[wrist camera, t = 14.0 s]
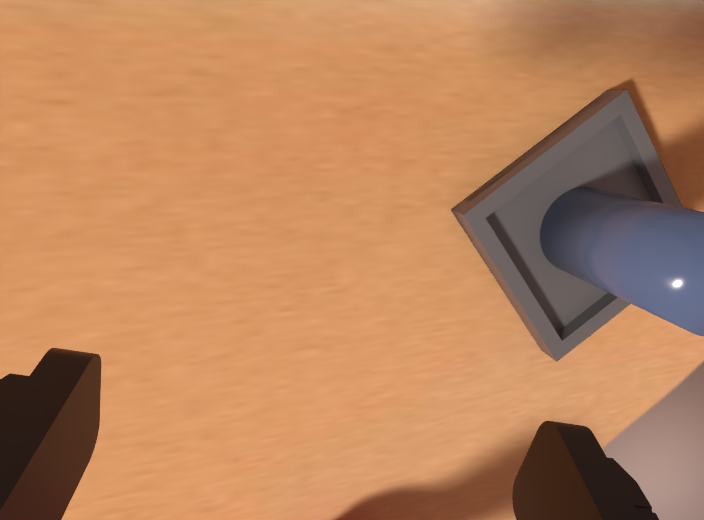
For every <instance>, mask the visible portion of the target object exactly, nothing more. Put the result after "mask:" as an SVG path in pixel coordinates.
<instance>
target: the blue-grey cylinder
mask: <svg viewBox="0 0 704 520" xmlns="http://www.w3.org/2000/svg"><path fill="white" fill-rule="evenodd" d="M540 244H541V248H542V251H543V253H544V255H545V257H546V258H547V260H548V261H549V262H550V263H551V264H552V265H553V266H555V267H556V268H558V269H560V270H562V271H564V272H566V273H568V274H570V275H573V276H575V277H577V278H579V279H581V280H583V281H585V282H587V283H589V284H591V285H593V286H596V287H598V288H600V289H602V290H604V291H606V292H608V293H610V294H612V295H614V296H616V297H618V298H621V299H623V300H625V301H627V302H629V303H631V304H633V305H635V306H637V307H639V308H641V309H644V310H646V311H648V312H650V313H652V314H654V315H656V316H658V317H660V318H662V319H664V320H667V321H669V322H671V323H673V324H675V325H677V326H679V327H681V328H683V329H685V330H687V331H690V332H692V333H694V334H696V335H699V336H704V212H699V211H695V210H690V209H686V208H681V207H677V206H672V205H668V204H663V203H658V202H654V201H649V200H645V199H640V198H636V197H631V196H627V195H622V194H617V193H613V192H608V191H604V190H599V189H595V188H590V187H579V188H575V189H572V190H569V191H567V192H565V193H564V194H562V195H561V196H559V197H558V198H557V199H556V200H555V201H554V202H553V203H552V204H551V205H550V207H549V208H548V210H547V212H546V213H545V215H544V218H543V220H542V224H541V228H540Z"/></svg>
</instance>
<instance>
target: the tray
mask: <svg viewBox="0 0 704 520" xmlns="http://www.w3.org/2000/svg"><path fill="white" fill-rule="evenodd" d="M579 187H590V188H595V189H599V190H604V191H608V192H613V193H617V194H622V195H627V196H631V197H636V198H640V199H645V200H649V201H654V202H658V203H663V204H668V205H672V206H677V207H681V208H683V207H682V205H681V203H680V201H679V199H678V196H677V194H676V192H675V190H674V188H673V186H672V184H671V182H670V179H669V177H668V175H667V173H666V171H665V169H664V167H663V165H662V163H661V160H660V158H659V156H658V154H657V152H656V150H655V148H654V146H653V144H652V141H651V139H650V137H649V135H648V133H647V131H646V129H645V127H644V124H643V122H642V120H641V118H640V116H639V114H638V112H637V110H636V108H635V105H634V103H633V101H632V99H631V97H630V95H629V93H628V91H627V90H607V91H605V92H604V93H603V94H602V95H600V96H599V97H598V98H596V99H595V100H594V101H592V102H591V103H590V104H588V105H587V106H586V107H585V108H583V109H582V110H581V111H579V112H578V113H577V114H575V115H574V116H573V117H572V118H570V119H569V120H568V121H566V122H565V123H564V124H562V125H561V126H560V127H558V128H557V129H556V130H555V131H553V132H552V133H551V134H549V135H548V136H547V137H545V138H544V139H543V140H541V141H540V142H539V143H538V144H536V145H535V146H534V147H532V148H531V149H530V150H528V151H527V152H526V153H525V154H523V155H522V156H521V157H519V158H518V159H517V160H515V161H514V162H513V163H511V164H510V165H509V166H508V167H506V168H505V169H504V170H502V171H501V172H500V173H498V174H497V175H496V176H494V177H493V178H492V179H491V180H489V181H488V182H487V183H485V184H484V185H483V186H481V187H480V188H479V189H478V190H476V191H475V192H474V193H472V194H471V195H470V196H468V197H467V198H466V199H464V200H463V201H462V202H461V203H459V204H458V205H457V206H455V207H454V208H453V209H451V211H452V212H453V214H454V215H455V217H456V218H457V220H458V222H459V223H460V225H461V226H462V228H463V229H464V231H465V232H466V234H467V235H468V237H469V239H470V240H471V242H472V243H473V245H474V246H475V248H476V249H477V251H478V253H479V254H480V256H481V257H482V259H483V260H484V262H485V263H486V265H487V267H488V268H489V270H490V271H491V273H492V274H493V276H494V277H495V279H496V281H497V282H498V284H499V285H500V287H501V288H502V290H503V291H504V293H505V294H506V296H507V298H508V299H509V301H510V302H511V304H512V305H513V307H514V308H515V310H516V312H517V313H518V315H519V316H520V318H521V319H522V321H523V322H524V324H525V326H526V327H527V329H528V330H529V332H530V333H531V335H532V336H533V338H534V339H535V341H536V343H537V344H538V346H539V347H540V349H541V350H542V351H543V352H544V353H546V354H547V355H548V356H550V357H551V358H552V359H554V360H555V361H556V362H557V361H558V360H560V359H561V358H562V357H563V356H565V355H566V354H567V353H569V352H570V351H571V350H572V349H574V348H575V347H576V346H577V345H579V344H580V343H581V342H583V341H584V340H585V339H586V338H588V337H589V336H590V335H592V334H593V333H594V332H595V331H597V330H598V329H599V328H600V327H602V326H603V325H604V324H606V323H607V322H608V321H609V320H611V319H612V318H613V317H614V316H616V315H617V314H618V313H620V312H621V311H622V310H623V309H625V308H626V307H627V306H629V305H630V304H631V303H629V302H627V301H625V300H623V299H621V298H618V297H616V296H614V295H612V294H610V293H608V292H606V291H604V290H602V289H600V288H598V287H596V286H593V285H591V284H589V283H587V282H585V281H583V280H581V279H579V278H577V277H575V276H573V275H570V274H568V273H566V272H564V271H562V270H560V269H558V268H556V267H555V266H553V265H552V264H551V263H550V262H549V261H548V260H547V258H546V257H545V255H544V253H543V251H542V248H541V244H540V228H541V224H542V220H543V218H544V215H545V213H546V212H547V210H548V208H549V207H550V205H551V204H552V203H553V202H554V201H555V200H556V199H557V198H558V197H559V196H561V195H562V194H564V193H565V192H567V191H569V190H572V189H575V188H579Z"/></svg>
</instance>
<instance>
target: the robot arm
mask: <svg viewBox="0 0 704 520" xmlns="http://www.w3.org/2000/svg"><path fill="white" fill-rule="evenodd" d="M100 388H101V358H100V356H99V355H98V354H93V353H86V352H79V351H72V350H65V349H58V348H51V349H50V350H49V351H48V352H47V353H46V354H45V355H44V357H43V358H42V360H41V361H40V362H39V364H38V365H37V366H36V368H35V369H34V371H33V372H32V373H31V375H30V376H24V375H17V374H8V375H7V376H5V377H4V378H2V379H0V520H61V519H62V517H63V515H64V513H65V511H66V508H67V506H68V504H69V502H70V500H71V498H72V496H73V494H74V492H75V490H76V488H77V486H78V484H79V482H80V479H81V477H82V475H83V473H84V471H85V469H86V467H87V465H88V463H89V461H90V459H91V456H92V453H93V450H94V447H95V444H96V440H97V436H98V430H99V421H100ZM513 508H514V513H515V516H516V519H517V520H659V519H658V517H657V515H656V514H655V513H652V510H651V509H652V507H651V505H650V504H649V502H648V500H647V499H646V497H645V495H644V494H643V492H642V490H641V489H640V487H639V485H638V484H637V482H636V481H635V480H634V479H633V478H632V477H631V476H630V475H629V474H628V473H627V472H626V471H625V470H624V469H623V468H622V467H621V466H620V465H619V464H618V463H617V462H616V461H615V460H614V459H613V458H607V457H606V455H605V453H604V452H603V450H602V448H601V446H600V445H599V443H598V441H597V440H596V438H595V436H594V434H593V433H592V431H591V430H590V429H589V428H587V427H585V426H580V425H573V424H566V423H559V422H552V421H545V422H543V423H542V424H541V426H540V427H539V429H538V431H537V433H536V435H535V437H534V439H533V441H532V444H531V446H530V448H529V450H528V452H527V455H526V457H525V459H524V461H523V463H522V465H521V468H520V470H519V472H518V474H517V476H516V479H515V482H514V486H513Z"/></svg>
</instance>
